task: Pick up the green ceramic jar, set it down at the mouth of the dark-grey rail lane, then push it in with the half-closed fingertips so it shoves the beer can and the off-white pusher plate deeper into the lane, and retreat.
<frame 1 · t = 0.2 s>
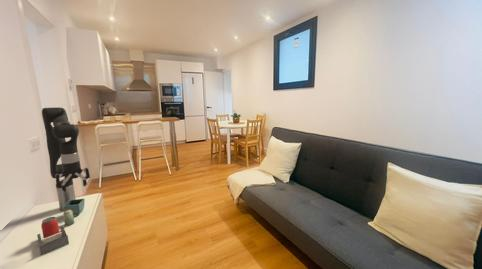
hand: (75, 188, 111), 28 cm above the table, fingers open, 8 cm apart
beer can: (52, 239, 112), resting in lane
pusher: (52, 239, 108), point 2 cm above the table, slide at 1.5 cm
lane: (53, 242, 109), on the table
jar: (69, 224, 125), on the table
flower pot: (76, 214, 136), on the table
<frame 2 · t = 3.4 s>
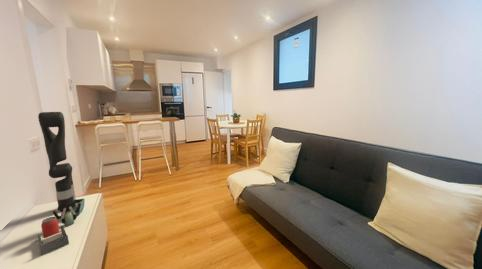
hand: (69, 221, 125), 2 cm above the table, fingers closed on jar, 4 cm apart
jar: (69, 224, 125), on the table, touching gripper
everything else where it was.
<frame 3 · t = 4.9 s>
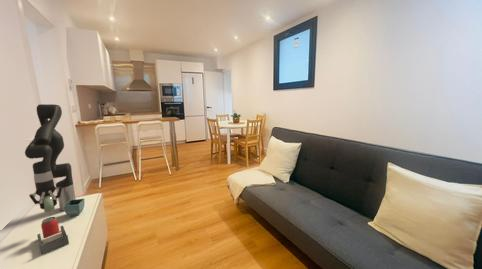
hand: (48, 207, 116), 16 cm above the table, fingers closed on jar, 4 cm apart
jar: (49, 209, 116), point 14 cm above the table, touching gripper
everything else where it was.
when the fingers open (3 cm above the table, at t = 6.8 s): jar stays where it is, on the table.
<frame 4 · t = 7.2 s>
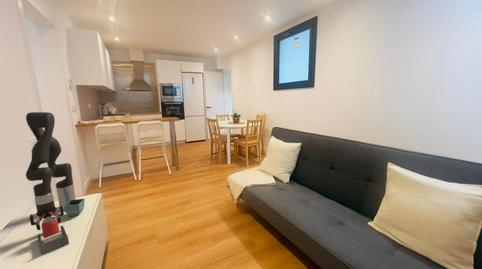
hand: (49, 226, 117), 4 cm above the table, fingers open, 8 cm apart
jar: (50, 231, 118), on the table
everything else where it was.
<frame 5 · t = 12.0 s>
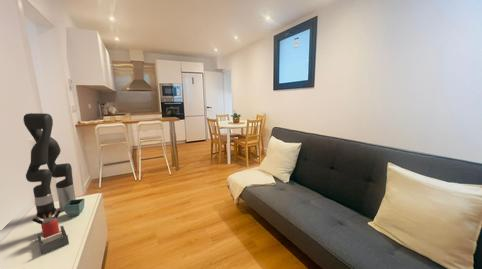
hand: (49, 228, 119), 1 cm above the table, fingers closed
jar: (50, 231, 118), on the table, touching gripper
everything else where it was.
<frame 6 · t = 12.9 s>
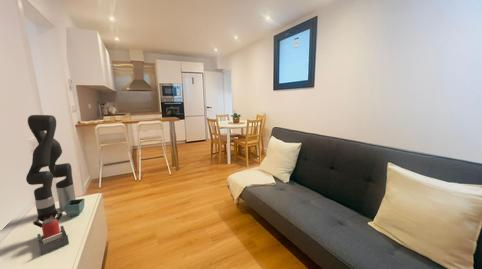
hand: (50, 231, 116), 1 cm above the table, fingers closed
beer can: (53, 240, 111), resting in lane, touching jar, pusher
pusher: (53, 239, 108), point 2 cm above the table, slide at 2.1 cm, touching beer can
jar: (52, 235, 115), on the table, touching beer can, gripper
everything else where it was.
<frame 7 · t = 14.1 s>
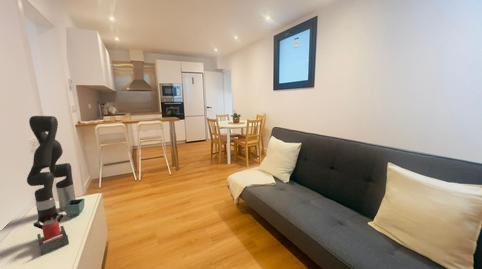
hand: (51, 233, 115), 1 cm above the table, fingers closed
beer can: (53, 242, 109), resting in lane, touching jar
pusher: (53, 241, 106), point 2 cm above the table, slide at 4.5 cm
jar: (53, 237, 113), on the table, touching beer can, gripper
everything else where it was.
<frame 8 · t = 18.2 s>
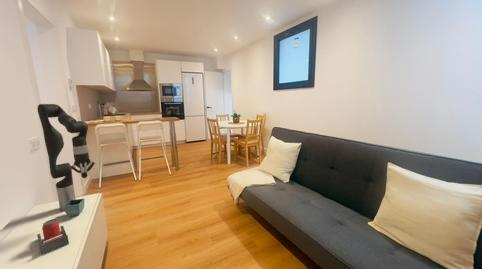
hand: (84, 177, 130), 27 cm above the table, fingers closed
beer can: (53, 242, 109), resting in lane
jar: (53, 237, 113), on the table
everything else where it was.
at the end: jar inside the target area on the lane (1.1 cm from its centre), point 0.0 cm above the lane's base; pusher slide at 4.5 cm; jar tilted 0° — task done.
